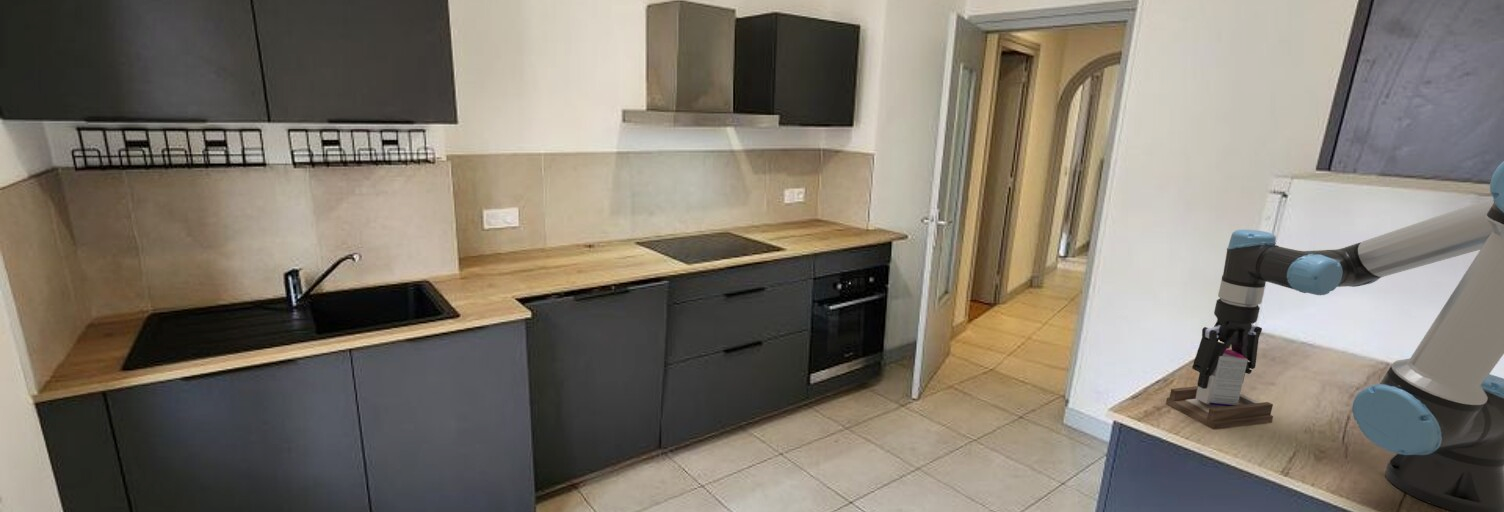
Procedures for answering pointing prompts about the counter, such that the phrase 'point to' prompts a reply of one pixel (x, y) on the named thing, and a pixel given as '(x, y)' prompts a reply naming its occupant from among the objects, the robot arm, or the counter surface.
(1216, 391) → the supplement box
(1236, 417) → the brown wooden tray
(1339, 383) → the counter surface
